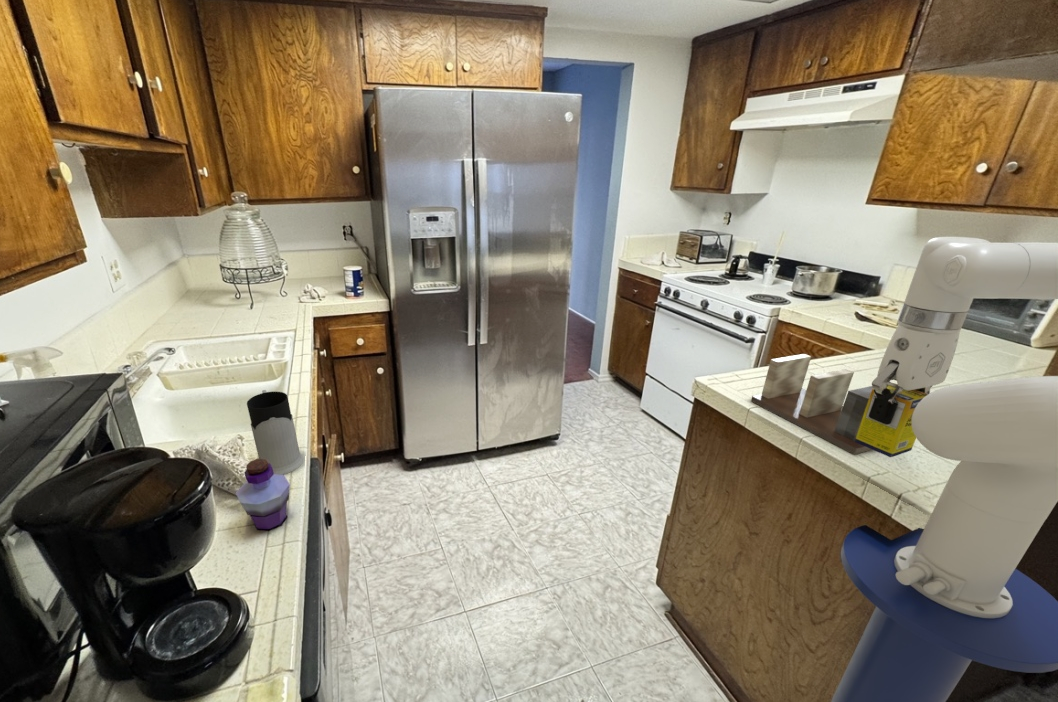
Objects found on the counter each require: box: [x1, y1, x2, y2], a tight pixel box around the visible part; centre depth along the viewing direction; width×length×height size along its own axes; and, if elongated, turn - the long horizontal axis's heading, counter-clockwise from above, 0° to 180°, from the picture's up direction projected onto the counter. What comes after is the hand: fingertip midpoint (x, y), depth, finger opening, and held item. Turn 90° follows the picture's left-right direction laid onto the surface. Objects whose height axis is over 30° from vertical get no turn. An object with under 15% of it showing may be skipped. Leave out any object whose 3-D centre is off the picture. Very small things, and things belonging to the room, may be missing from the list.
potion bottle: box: [235, 458, 291, 532], centre depth 80 cm, size 9×9×12 cm
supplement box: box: [855, 382, 928, 458], centre depth 82 cm, size 6×6×11 cm
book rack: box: [750, 353, 873, 455], centre depth 109 cm, size 16×26×12 cm, turn 18°
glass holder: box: [246, 389, 304, 475], centre depth 97 cm, size 9×14×15 cm, turn 28°
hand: (893, 416), depth 81 cm, fingers closed on supplement box, 6 cm apart
